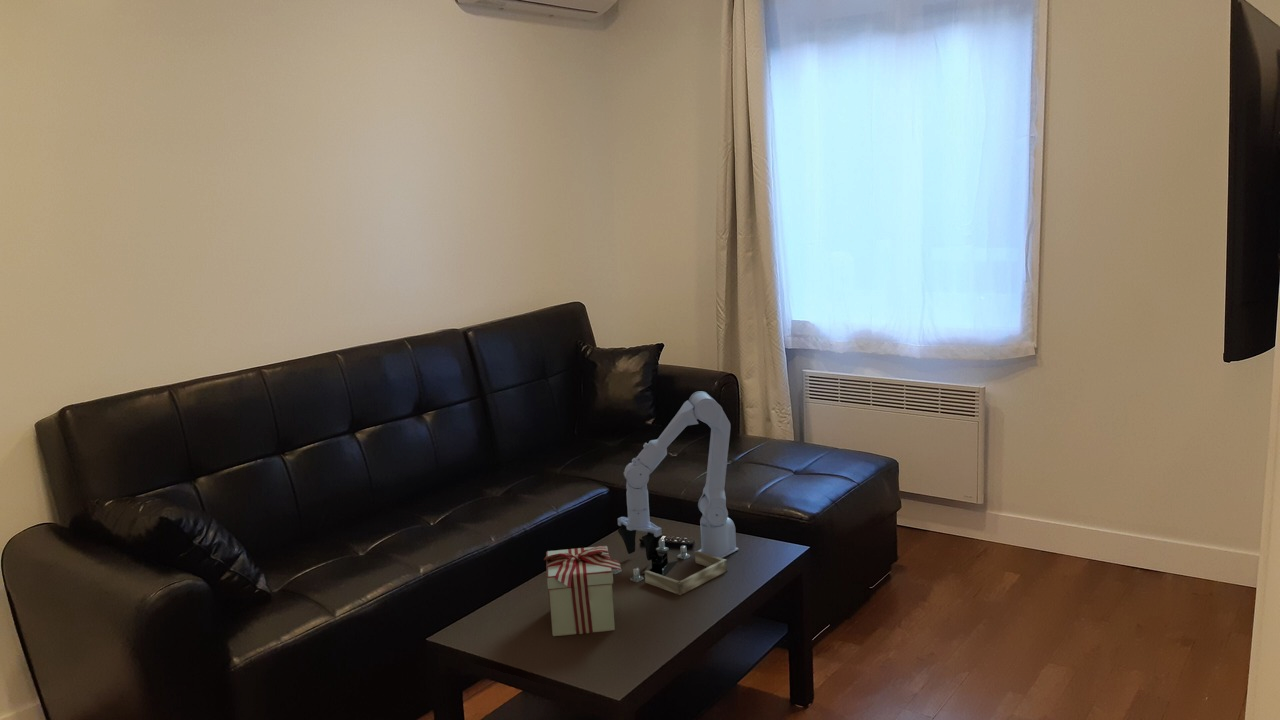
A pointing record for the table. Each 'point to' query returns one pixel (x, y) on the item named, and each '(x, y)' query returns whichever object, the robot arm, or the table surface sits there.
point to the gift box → (580, 590)
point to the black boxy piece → (660, 563)
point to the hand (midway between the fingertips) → (641, 555)
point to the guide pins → (661, 547)
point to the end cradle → (680, 587)
